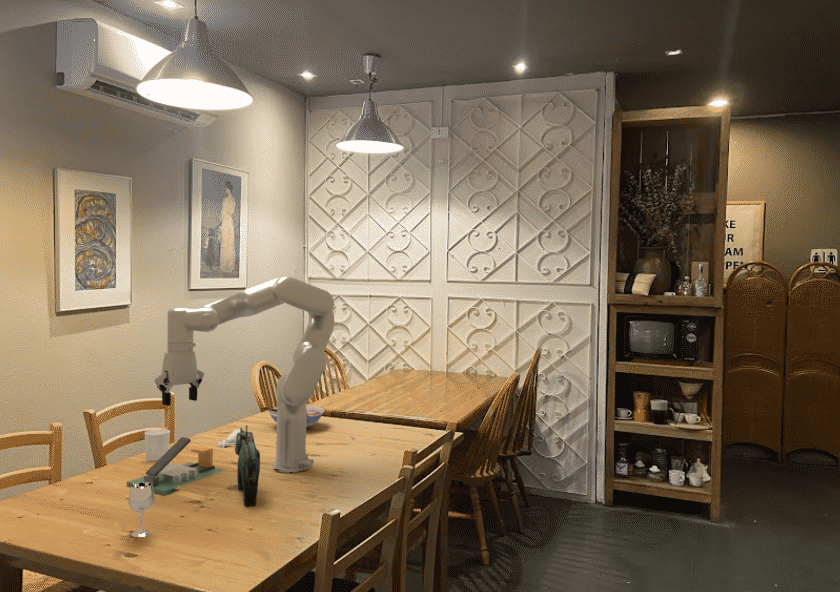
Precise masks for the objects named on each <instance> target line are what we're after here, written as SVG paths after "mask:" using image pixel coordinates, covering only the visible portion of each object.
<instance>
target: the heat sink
mask: <svg viewBox="0 0 840 592" xmlns="http://www.w3.org/2000/svg"><path fill="white" fill-rule="evenodd" d="M143 477H144V482H150V483H152V486H153V487H154V486H157V485H159V481H161V482H166V483H170V484H175V483H177V484H180V483H181V481H189V479H190V478H194V479H195V478H197V469H196V468H192V467H187V466H183V464H178V463H169V464H168V465H167V466H166V467H165V468H164V469H163V470H162V471H161V472H160V473H159V474H158V475H157V476H156V477H155V476H151V475H146V474H145V475H144V476H143Z"/></svg>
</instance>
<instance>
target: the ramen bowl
mask: <svg viewBox="0 0 840 592" xmlns="http://www.w3.org/2000/svg"><path fill="white" fill-rule="evenodd" d="M260 410H263V411H268V413H269V415H270V417H271V418H272V420H273V421H274V422H275V423H276V424H277V406H276V407H273V408H272V407H267V406H264V407H261V408H260ZM324 413H325V409H324V408H322V407H318V406H314V405H306V428H308V427H311V426H313V425H315V424H317V422H318V421H319V420H320V419H321V417H322V416H323V415H324Z"/></svg>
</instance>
